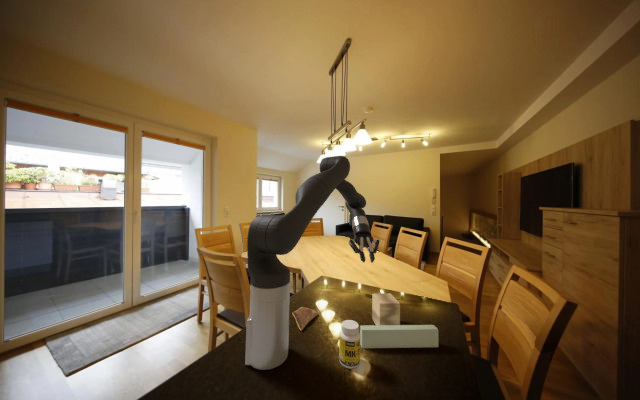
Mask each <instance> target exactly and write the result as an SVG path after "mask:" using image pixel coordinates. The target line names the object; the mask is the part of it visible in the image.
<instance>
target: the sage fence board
mask: <svg viewBox="0 0 640 400" xmlns="http://www.w3.org/2000/svg"><path fill="white" fill-rule="evenodd" d="M359 333H360V348H361V349H397V348H399V349H401V348H403V349H405V348H406V349H407V348H408V349H410V348H439V329H438V327H436V325H434V324H400V325H376V324H375V325H372V324H371V325H370V324H369V325H366V324H365V325H359Z"/></svg>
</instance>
